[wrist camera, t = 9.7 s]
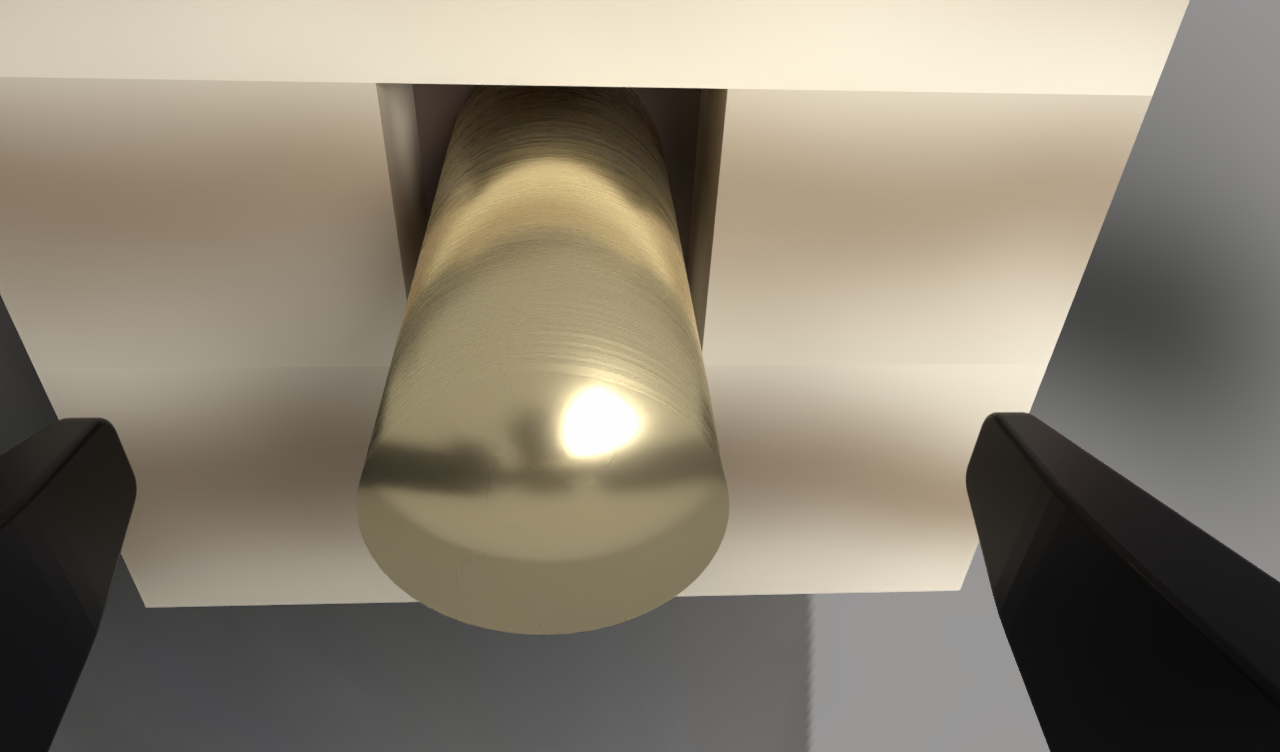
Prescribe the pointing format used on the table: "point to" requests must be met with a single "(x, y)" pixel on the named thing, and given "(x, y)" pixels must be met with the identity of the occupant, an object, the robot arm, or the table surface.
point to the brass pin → (547, 378)
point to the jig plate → (706, 219)
